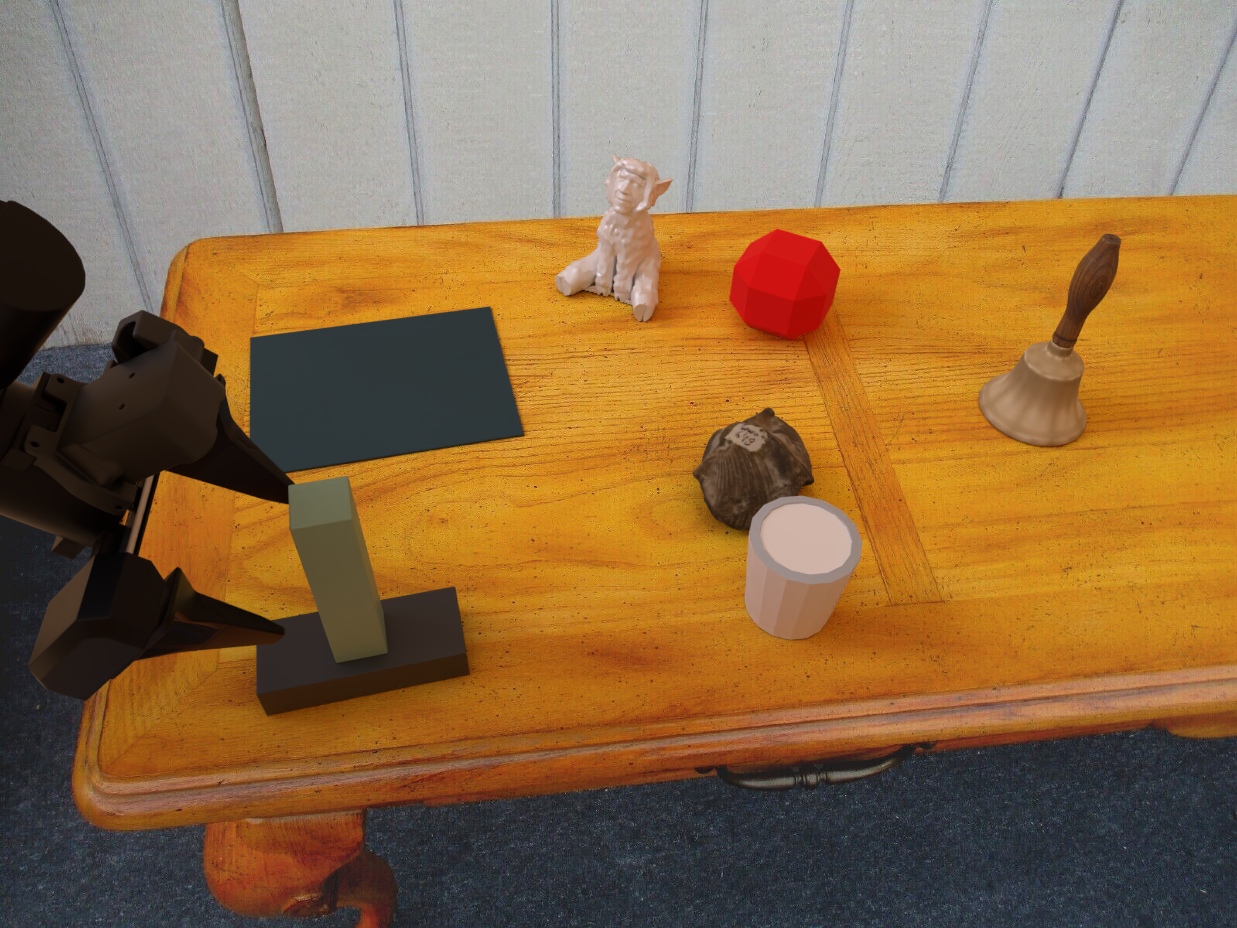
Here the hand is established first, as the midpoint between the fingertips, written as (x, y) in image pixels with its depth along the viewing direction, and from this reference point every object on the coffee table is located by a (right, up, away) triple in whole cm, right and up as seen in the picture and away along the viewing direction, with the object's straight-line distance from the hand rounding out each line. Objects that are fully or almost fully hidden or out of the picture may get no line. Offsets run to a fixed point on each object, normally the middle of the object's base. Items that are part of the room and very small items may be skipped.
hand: (290, 563), depth 51 cm
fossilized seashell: (+27, +3, +19) cm, 33 cm away
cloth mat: (-1, +12, +25) cm, 27 cm away
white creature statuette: (+18, +21, +35) cm, 45 cm away
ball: (+31, +18, +32) cm, 48 cm away
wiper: (+2, -7, +8) cm, 10 cm away
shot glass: (+29, -4, +12) cm, 31 cm away
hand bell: (+51, +9, +25) cm, 57 cm away
